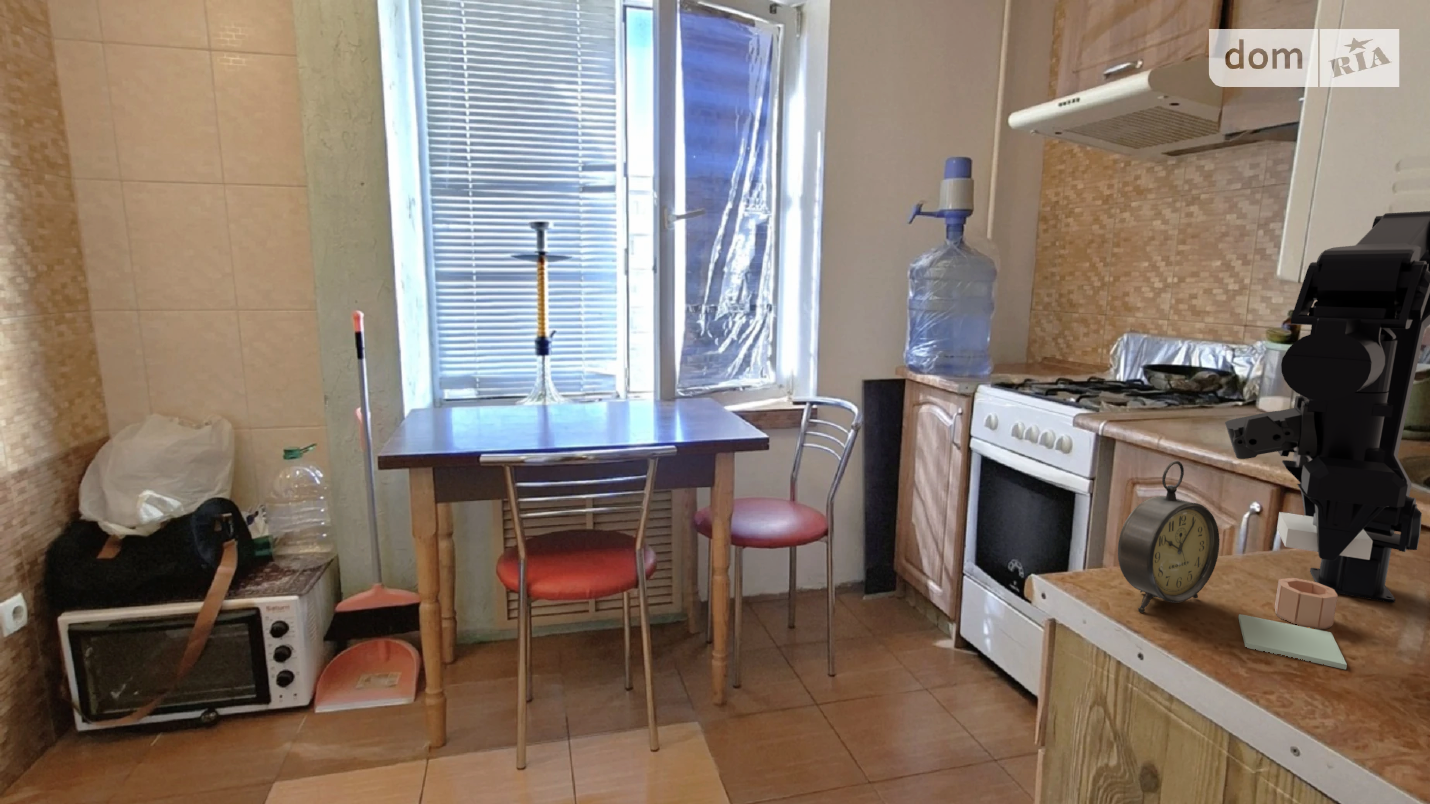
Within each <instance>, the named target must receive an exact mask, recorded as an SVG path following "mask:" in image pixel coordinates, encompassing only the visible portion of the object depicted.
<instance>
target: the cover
mask: <svg viewBox="0 0 1430 804" xmlns="http://www.w3.org/2000/svg"><path fill="white" fill-rule="evenodd" d="M1276 530H1277V532H1278V534H1279V536H1280V539H1281V541H1282V543H1283V545H1284V547H1285V548H1291V549H1297V550H1303V551H1310V552H1315V553H1316V552H1317V553H1318V543H1317V528H1316V513H1314V517H1312V516H1305V515H1304V514H1303V515H1302V514H1296V513H1288V512H1282V511H1279V513H1278V520H1277V527H1276ZM1372 543H1373V541H1372V539H1371V538H1370V537H1369V536H1368V534H1367V533H1366V532H1365V531H1364V529H1363V530H1362V531H1361V532H1360V533H1359V534H1358V535H1357V536H1356V537H1355V538H1354V539H1353V541H1352V542H1351V543H1350V544H1349V545H1348V546H1347V547H1346V548H1345V549H1344V550H1343V552H1342V553H1341V554H1340V555H1341V556H1347V557H1354V558H1360V559H1367V560H1370V554H1371V549H1372Z"/></svg>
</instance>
